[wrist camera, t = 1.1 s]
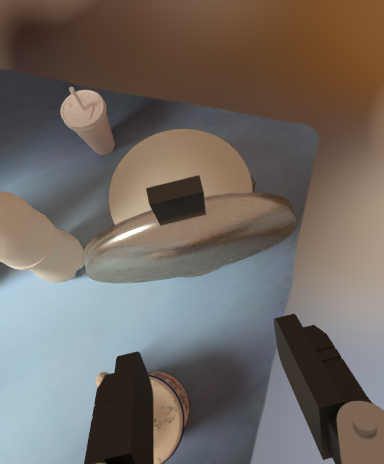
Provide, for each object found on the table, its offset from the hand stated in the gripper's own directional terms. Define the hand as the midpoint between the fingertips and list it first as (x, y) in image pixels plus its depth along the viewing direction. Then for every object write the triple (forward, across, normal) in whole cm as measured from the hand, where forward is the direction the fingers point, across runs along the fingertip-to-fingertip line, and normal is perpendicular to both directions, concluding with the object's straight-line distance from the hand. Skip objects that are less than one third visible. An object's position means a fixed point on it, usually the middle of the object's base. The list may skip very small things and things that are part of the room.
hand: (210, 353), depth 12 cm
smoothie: (+51, +11, +1) cm, 52 cm away
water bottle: (+38, +19, +14) cm, 44 cm away
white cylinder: (+39, 0, +12) cm, 41 cm away
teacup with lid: (+23, +11, +29) cm, 38 cm away
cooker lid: (+17, 0, +4) cm, 18 cm away
